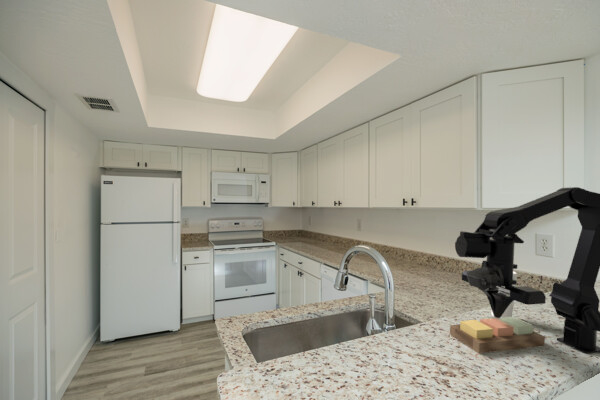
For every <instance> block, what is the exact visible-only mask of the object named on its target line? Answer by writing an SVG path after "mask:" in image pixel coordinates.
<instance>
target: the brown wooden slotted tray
mask: <svg viewBox="0 0 600 400" xmlns="http://www.w3.org/2000/svg"><path fill="white" fill-rule="evenodd" d="M449 335H450V336H452V337H453V338H455V339H457V340H458V341H459V342H461V344H464V345H466V346H467V347H468V348H470V349H471V350H472V351H474V352H476V353H477V354H486V353H494V352H495V353H496V352H504V351H512V350H521V349H531V347H532V348H537V347H544V346H545V341H546V336H545V335H543V334H541V333H538V332H536V331H535V330H533V334H523V335H517V334H515V333H513V336H503V337H497V336H495V335H493V338H483V339H475V338H474V337H472V336H471V335H469V334H467V333H466V332H464V331H462V330H461V329H460V324H451V325H449Z"/></svg>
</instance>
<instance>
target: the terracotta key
mask: <svg viewBox="0 0 600 400" xmlns="http://www.w3.org/2000/svg"><path fill="white" fill-rule="evenodd" d="M479 322H481V323H483V324H485V325H487V326H489V327H490V328H492V329H493V335H495V336H497V337H503V336H513V327H512V326H510V325H508V324H506V323H504V322H502V321H500V319H497V318H495V317H493V318H483V319H480V321H479Z"/></svg>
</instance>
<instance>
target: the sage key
mask: <svg viewBox="0 0 600 400" xmlns="http://www.w3.org/2000/svg"><path fill="white" fill-rule="evenodd" d="M499 320H500V321H502V322H504V323H506V324H508V325H510V326H512V327H513V333H515V334H517V335H523V334H533V331H534V325H533V324H531V323H528V322H526V321H524V320H522V319H520V318H517V317H515V316H512V317H505V318H500V319H499Z"/></svg>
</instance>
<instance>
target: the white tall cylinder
mask: <svg viewBox="0 0 600 400" xmlns="http://www.w3.org/2000/svg"><path fill="white" fill-rule="evenodd" d="M517 278H518V273H517V272H516V271H514V270H513V280H516V281H517V282H518V279H517ZM517 285H518V284H516V285H512V286H514V287H518V286H517ZM502 287H504V286H502ZM514 305H515V300H513V301H512V302H511V304H510V305H509V306H508V307H507V309H506V310H505V312H504V313H503V314H502V316H501V317H500V318H505V317H513V310H514ZM490 314H491V316H492V317H493V318H496V317H494V314H493V312H492V309H491V308H490ZM500 318H496V319H498V320H500Z"/></svg>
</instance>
